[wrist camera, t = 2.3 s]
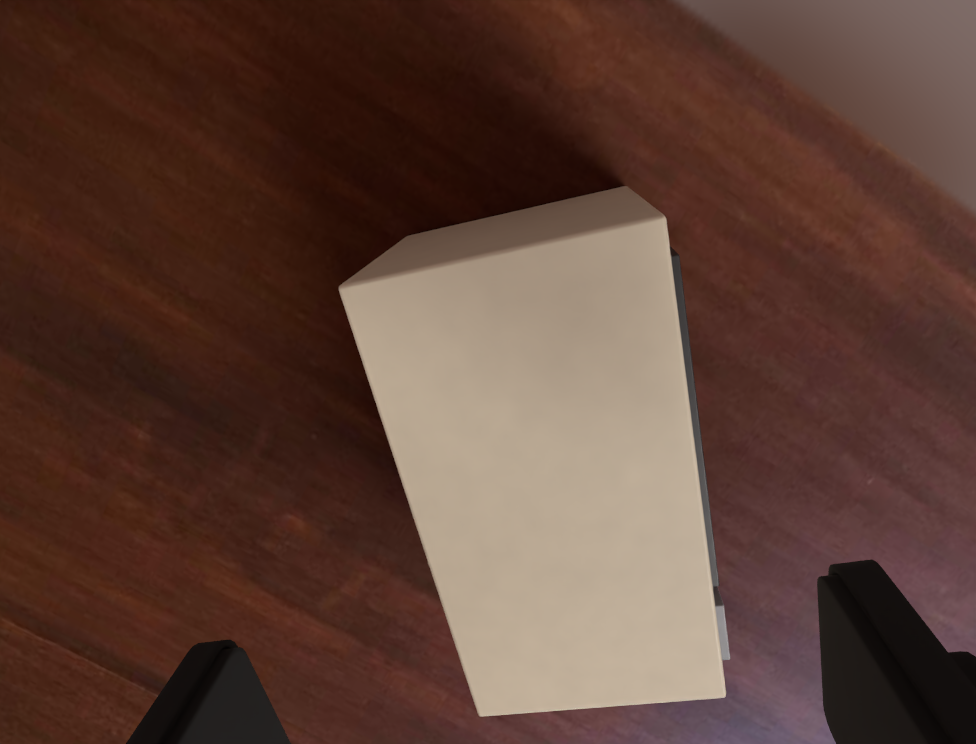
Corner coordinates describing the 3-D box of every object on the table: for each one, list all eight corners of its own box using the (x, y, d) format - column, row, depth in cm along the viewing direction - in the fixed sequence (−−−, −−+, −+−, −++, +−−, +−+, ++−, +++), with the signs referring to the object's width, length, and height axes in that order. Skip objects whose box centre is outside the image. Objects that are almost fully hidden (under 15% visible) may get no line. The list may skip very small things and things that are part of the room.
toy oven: (638, 182, 16) (683, 209, 11) (689, 543, 20) (740, 698, 15) (404, 236, 17) (335, 286, 12) (497, 566, 21) (477, 718, 16)
